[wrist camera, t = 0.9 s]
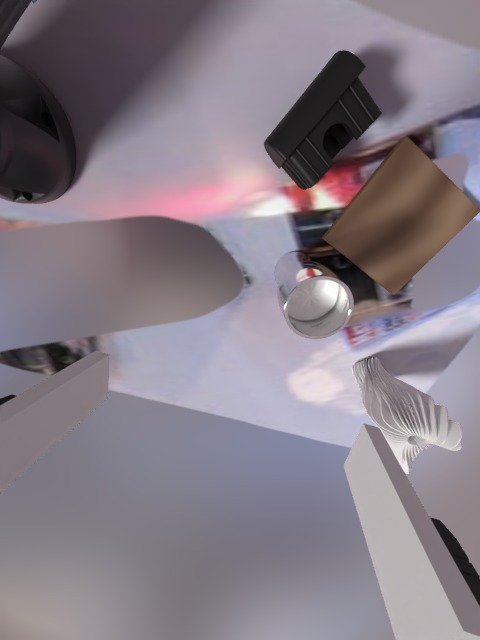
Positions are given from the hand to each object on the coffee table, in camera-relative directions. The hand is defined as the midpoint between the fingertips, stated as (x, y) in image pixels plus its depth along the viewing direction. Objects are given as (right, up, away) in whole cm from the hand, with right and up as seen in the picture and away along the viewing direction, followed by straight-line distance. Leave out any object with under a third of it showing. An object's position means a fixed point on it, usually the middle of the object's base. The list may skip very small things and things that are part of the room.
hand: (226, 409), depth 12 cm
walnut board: (+22, +18, +21) cm, 35 cm away
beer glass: (+9, +12, +25) cm, 29 cm away
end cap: (+10, +27, +18) cm, 34 cm away
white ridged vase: (+24, -4, +31) cm, 40 cm away
